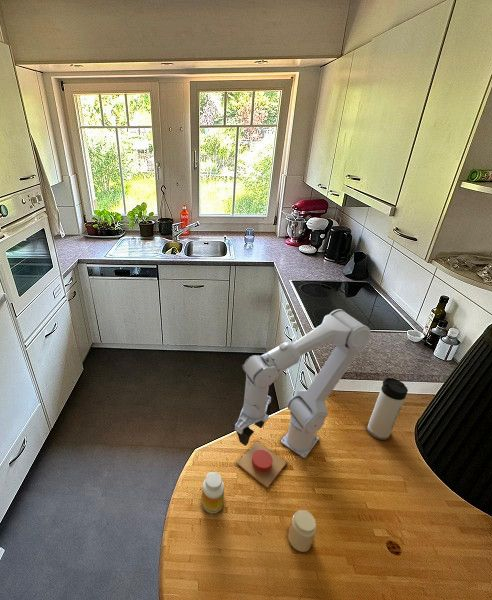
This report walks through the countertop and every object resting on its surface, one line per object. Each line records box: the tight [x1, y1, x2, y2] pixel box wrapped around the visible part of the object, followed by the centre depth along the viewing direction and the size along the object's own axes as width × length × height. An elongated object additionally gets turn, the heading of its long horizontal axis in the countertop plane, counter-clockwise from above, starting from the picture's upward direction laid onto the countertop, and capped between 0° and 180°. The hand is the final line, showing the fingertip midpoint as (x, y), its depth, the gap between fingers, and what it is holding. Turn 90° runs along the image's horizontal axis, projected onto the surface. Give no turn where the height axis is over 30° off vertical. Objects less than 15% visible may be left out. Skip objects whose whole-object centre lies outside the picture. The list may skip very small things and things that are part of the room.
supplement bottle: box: [201, 471, 225, 514], centre depth 80 cm, size 5×5×10 cm
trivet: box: [236, 441, 287, 489], centre depth 92 cm, size 10×10×1 cm
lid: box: [252, 450, 273, 472], centre depth 91 cm, size 6×6×2 cm
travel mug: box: [366, 377, 409, 441], centre depth 97 cm, size 6×7×20 cm
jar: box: [287, 509, 317, 553], centre depth 73 cm, size 5×5×8 cm
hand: (251, 434), depth 89 cm, fingers open, 7 cm apart
